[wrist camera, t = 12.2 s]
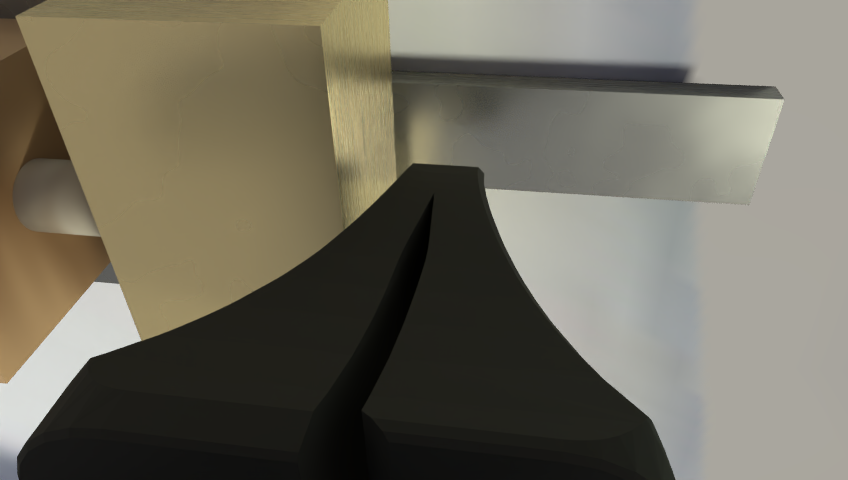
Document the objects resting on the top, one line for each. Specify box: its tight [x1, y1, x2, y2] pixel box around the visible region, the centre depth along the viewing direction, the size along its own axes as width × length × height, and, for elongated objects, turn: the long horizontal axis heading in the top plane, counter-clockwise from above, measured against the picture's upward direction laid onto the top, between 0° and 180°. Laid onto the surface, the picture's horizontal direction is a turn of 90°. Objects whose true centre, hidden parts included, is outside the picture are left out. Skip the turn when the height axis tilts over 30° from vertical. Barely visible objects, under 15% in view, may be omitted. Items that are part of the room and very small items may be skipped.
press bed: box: [0, 0, 784, 284], centre depth 14 cm, size 9×22×3 cm, turn 91°
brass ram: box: [15, 0, 397, 341], centre depth 12 cm, size 8×4×4 cm, turn 1°
